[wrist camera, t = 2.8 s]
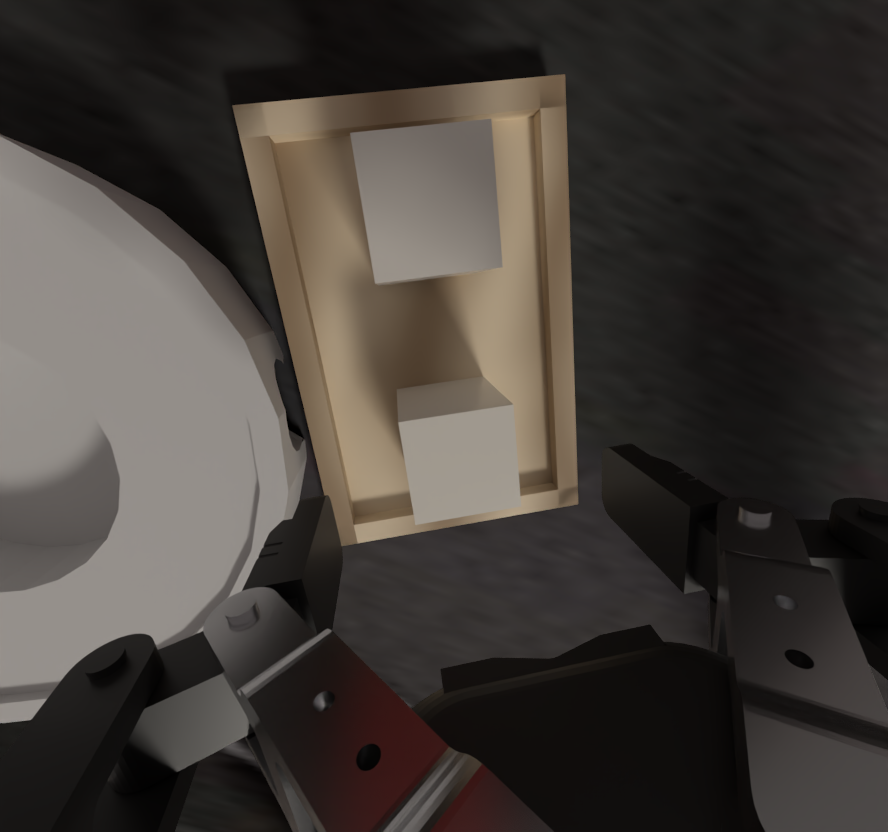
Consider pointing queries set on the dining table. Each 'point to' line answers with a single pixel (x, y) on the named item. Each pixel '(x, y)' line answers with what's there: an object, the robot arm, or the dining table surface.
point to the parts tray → (419, 293)
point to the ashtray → (123, 426)
